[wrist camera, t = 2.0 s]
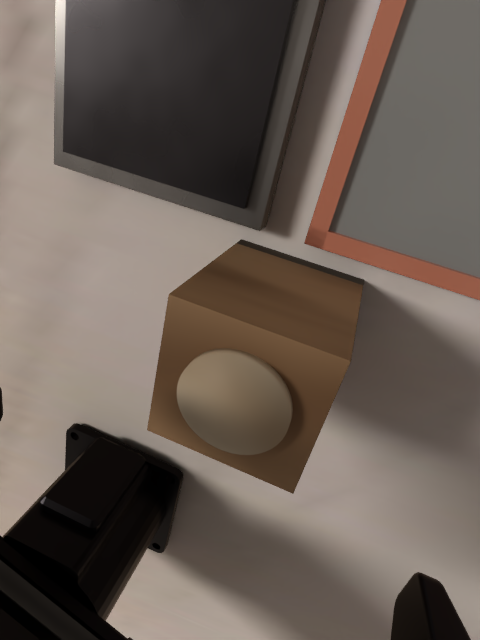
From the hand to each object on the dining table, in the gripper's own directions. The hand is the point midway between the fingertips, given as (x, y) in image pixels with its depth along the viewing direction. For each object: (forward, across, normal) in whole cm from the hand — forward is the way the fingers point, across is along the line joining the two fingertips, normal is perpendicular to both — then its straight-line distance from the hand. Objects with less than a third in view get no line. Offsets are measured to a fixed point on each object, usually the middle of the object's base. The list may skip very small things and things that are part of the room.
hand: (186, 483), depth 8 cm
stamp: (+8, 0, 0) cm, 9 cm away
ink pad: (+8, +5, -7) cm, 12 cm away
